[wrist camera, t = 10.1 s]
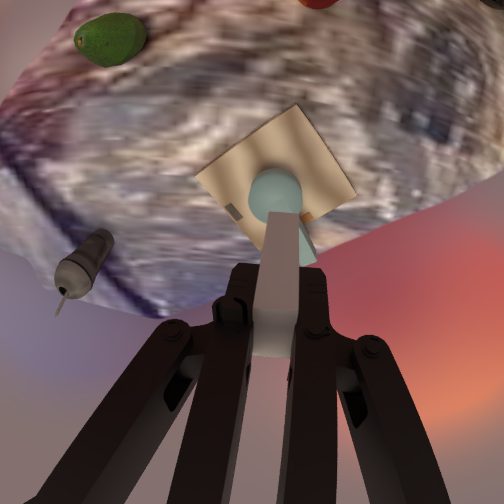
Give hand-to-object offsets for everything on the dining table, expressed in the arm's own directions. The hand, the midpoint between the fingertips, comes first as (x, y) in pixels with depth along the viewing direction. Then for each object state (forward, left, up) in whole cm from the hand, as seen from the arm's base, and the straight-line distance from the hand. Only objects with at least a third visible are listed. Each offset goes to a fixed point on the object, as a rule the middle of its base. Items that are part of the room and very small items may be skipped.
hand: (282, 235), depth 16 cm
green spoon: (+7, +10, -25) cm, 28 cm away
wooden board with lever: (+6, +7, -30) cm, 31 cm away
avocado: (+9, -24, -30) cm, 40 cm away
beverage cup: (+39, -3, -30) cm, 49 cm away
